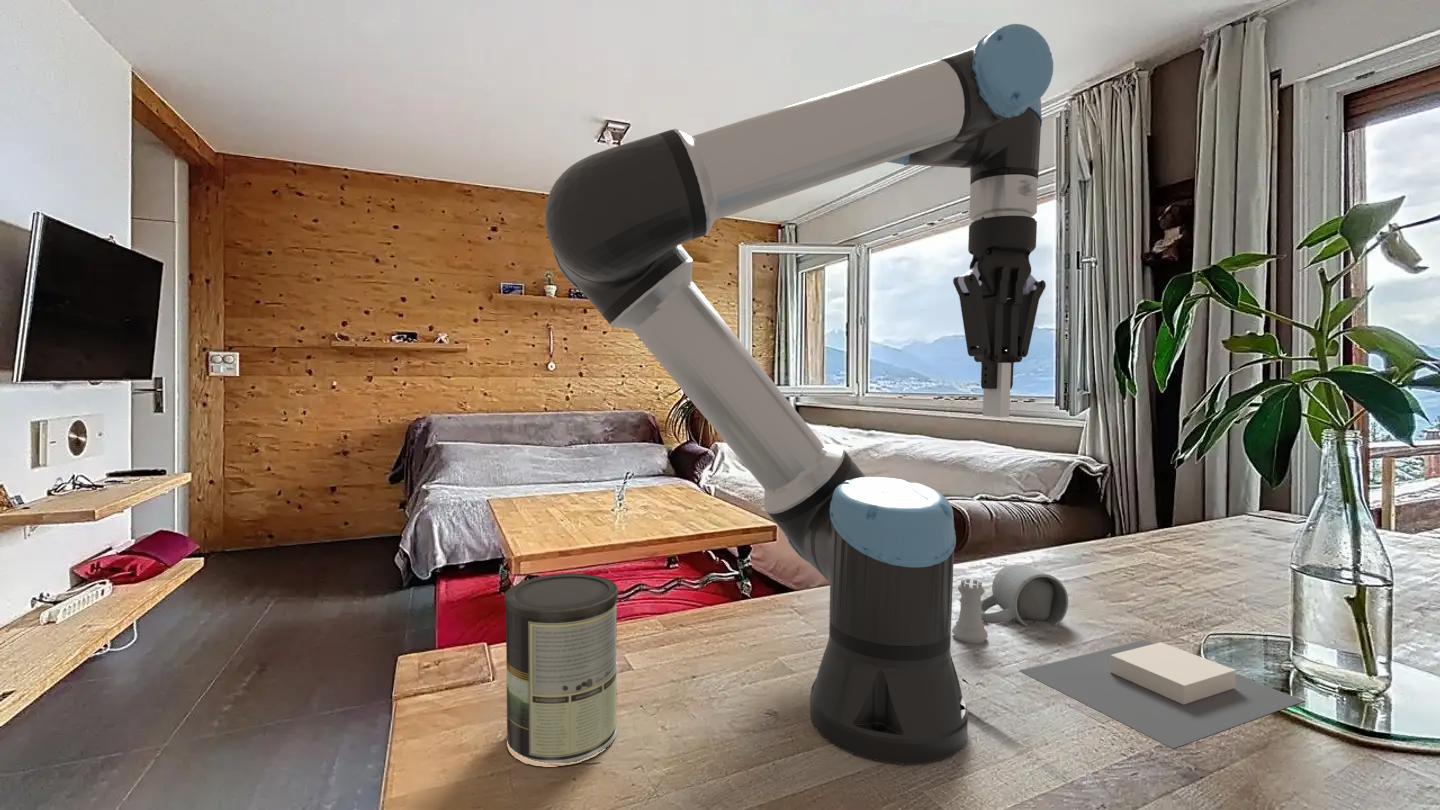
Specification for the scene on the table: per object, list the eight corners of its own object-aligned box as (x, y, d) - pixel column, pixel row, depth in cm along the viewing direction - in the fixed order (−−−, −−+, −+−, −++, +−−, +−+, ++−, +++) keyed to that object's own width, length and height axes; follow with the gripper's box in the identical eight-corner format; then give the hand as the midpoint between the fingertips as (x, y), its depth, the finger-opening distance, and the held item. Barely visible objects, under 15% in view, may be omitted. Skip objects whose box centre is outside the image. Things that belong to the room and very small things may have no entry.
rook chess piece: (973, 653, 83) (975, 590, 82) (943, 641, 86) (945, 580, 86) (995, 645, 85) (997, 584, 85) (965, 634, 89) (967, 574, 88)
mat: (1172, 757, 61) (1173, 748, 61) (1019, 677, 76) (1019, 670, 76) (1304, 708, 70) (1304, 700, 70) (1143, 646, 86) (1143, 640, 85)
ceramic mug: (1035, 608, 99) (1036, 557, 98) (1069, 630, 90) (1070, 574, 90) (965, 611, 98) (966, 559, 97) (993, 634, 89) (994, 577, 89)
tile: (1184, 685, 69) (1236, 669, 72) (1110, 654, 76) (1161, 642, 80) (1183, 705, 69) (1234, 688, 73) (1109, 673, 76) (1160, 659, 80)
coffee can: (480, 753, 60) (479, 600, 60) (549, 701, 70) (549, 568, 69) (578, 780, 57) (578, 616, 56) (637, 721, 66) (637, 580, 65)
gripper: (986, 207, 74) (979, 419, 75) (1068, 219, 79) (1060, 417, 81) (938, 220, 81) (932, 415, 82) (1016, 230, 86) (1009, 413, 88)
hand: (995, 416), depth 81 cm, fingers closed
